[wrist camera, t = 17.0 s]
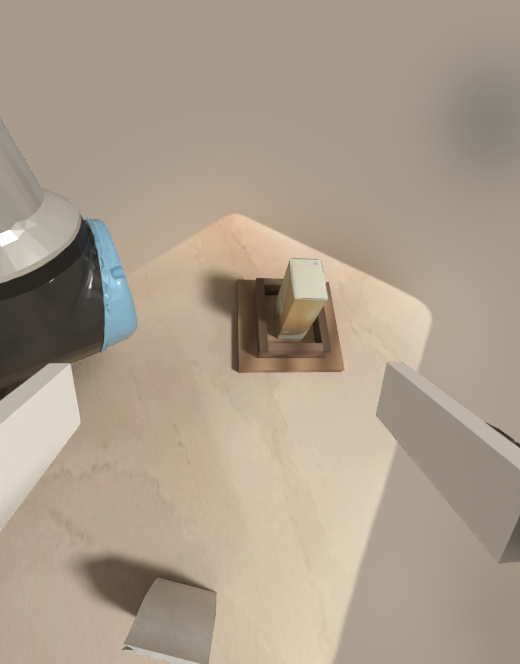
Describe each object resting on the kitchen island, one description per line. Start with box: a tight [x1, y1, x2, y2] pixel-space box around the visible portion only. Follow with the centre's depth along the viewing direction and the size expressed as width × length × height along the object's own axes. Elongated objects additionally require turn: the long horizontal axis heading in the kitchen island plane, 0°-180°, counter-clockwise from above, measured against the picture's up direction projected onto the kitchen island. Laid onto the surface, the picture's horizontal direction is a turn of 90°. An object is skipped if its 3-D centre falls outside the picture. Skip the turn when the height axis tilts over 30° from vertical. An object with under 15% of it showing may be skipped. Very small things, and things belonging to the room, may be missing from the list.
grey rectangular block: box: [122, 577, 216, 664], centre depth 27 cm, size 4×7×10 cm, turn 77°
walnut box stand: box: [237, 278, 344, 373], centre depth 46 cm, size 16×16×4 cm
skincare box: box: [274, 258, 328, 339], centre depth 42 cm, size 6×4×12 cm
